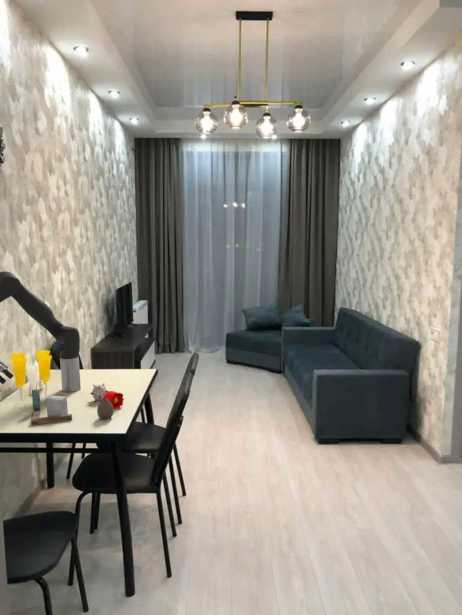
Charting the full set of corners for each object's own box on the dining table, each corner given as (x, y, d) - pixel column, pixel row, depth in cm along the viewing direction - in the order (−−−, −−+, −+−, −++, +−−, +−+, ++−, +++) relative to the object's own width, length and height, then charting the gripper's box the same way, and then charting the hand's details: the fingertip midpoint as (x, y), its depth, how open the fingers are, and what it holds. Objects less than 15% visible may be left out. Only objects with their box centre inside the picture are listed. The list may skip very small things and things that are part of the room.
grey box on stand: (33, 410, 229) (32, 389, 228) (71, 406, 234) (70, 385, 233) (30, 424, 212) (29, 401, 210) (72, 419, 217) (70, 397, 215)
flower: (114, 391, 239) (126, 393, 234) (110, 408, 237) (122, 410, 233) (102, 388, 233) (114, 391, 228) (97, 405, 231) (109, 408, 226)
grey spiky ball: (102, 408, 242) (102, 396, 235) (86, 402, 243) (86, 389, 236) (111, 395, 248) (112, 383, 241) (96, 388, 249) (96, 376, 243)
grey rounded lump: (99, 415, 222) (98, 396, 220) (115, 415, 222) (113, 395, 221) (96, 421, 215) (95, 401, 214) (112, 420, 215) (111, 400, 214)
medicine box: (68, 415, 223) (67, 396, 222) (62, 419, 219) (60, 399, 217) (53, 413, 225) (52, 395, 224) (47, 417, 221) (45, 398, 220)
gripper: (-22, 353, 216) (7, 378, 218) (-8, 346, 230) (19, 369, 232) (-33, 365, 216) (-4, 390, 218) (-19, 358, 230) (9, 381, 232)
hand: (8, 379), depth 225 cm, fingers open, 8 cm apart
